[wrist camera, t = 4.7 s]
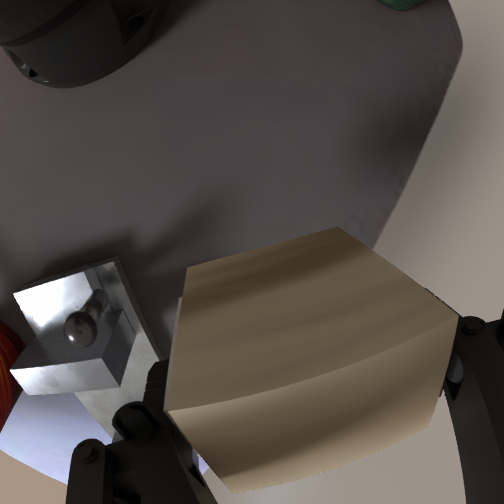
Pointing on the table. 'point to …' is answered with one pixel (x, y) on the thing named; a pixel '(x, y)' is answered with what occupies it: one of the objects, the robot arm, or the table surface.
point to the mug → (8, 371)
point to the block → (304, 359)
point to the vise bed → (141, 355)
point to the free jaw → (72, 335)
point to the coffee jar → (401, 3)
